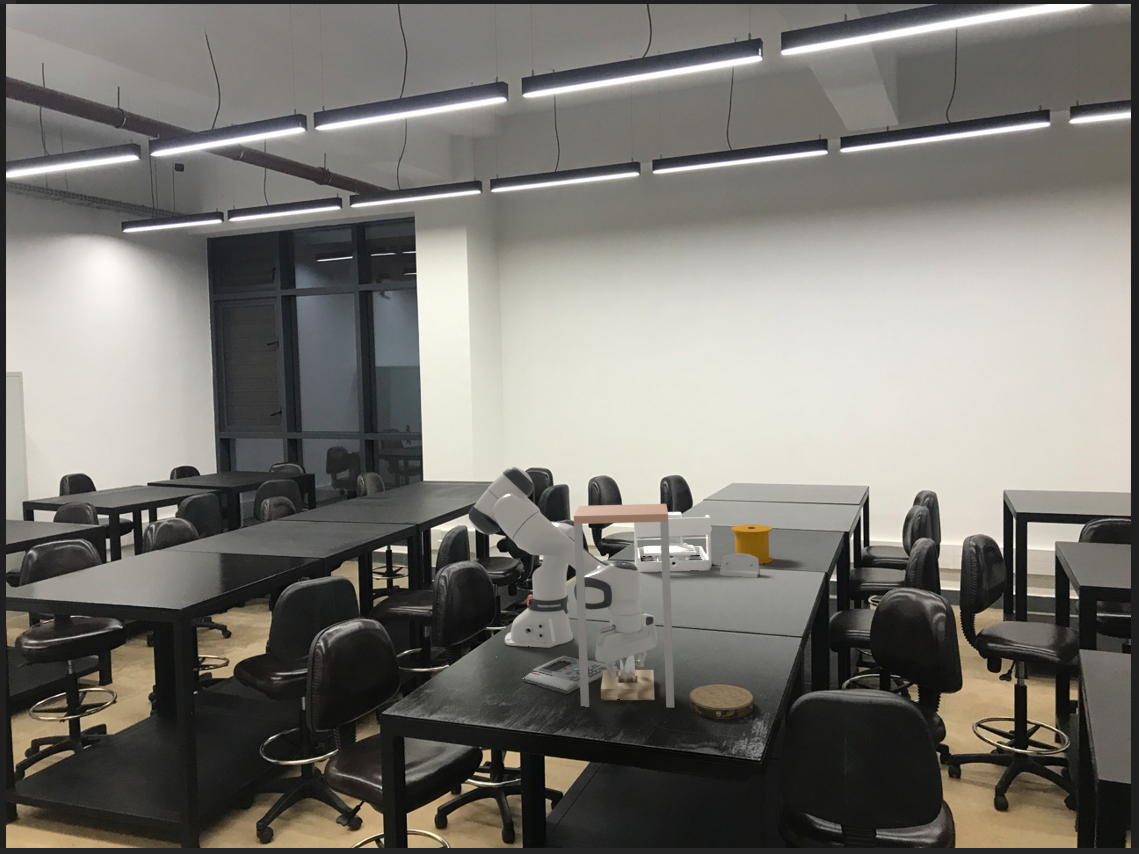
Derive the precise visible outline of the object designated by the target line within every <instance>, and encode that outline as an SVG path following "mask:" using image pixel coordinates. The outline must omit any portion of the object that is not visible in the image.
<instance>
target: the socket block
mask: <svg viewBox="0 0 1139 854" xmlns="http://www.w3.org/2000/svg"><path fill="white" fill-rule="evenodd" d="M618 670H619V676H616V677H612V676H611V673H610V670H603V677H602V678H601V684H600V698H601V699H604V700H603V701H618V700H617V699H620V700H619V701H655V682H654V681H655V678H654V674H655V673H654V669H635V683H621V675H620V669H618ZM601 699H600V700H601Z"/></svg>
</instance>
